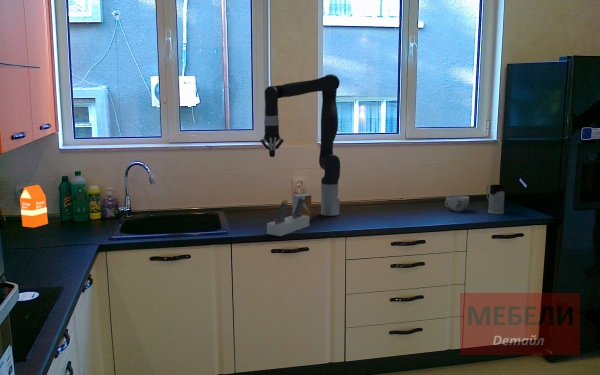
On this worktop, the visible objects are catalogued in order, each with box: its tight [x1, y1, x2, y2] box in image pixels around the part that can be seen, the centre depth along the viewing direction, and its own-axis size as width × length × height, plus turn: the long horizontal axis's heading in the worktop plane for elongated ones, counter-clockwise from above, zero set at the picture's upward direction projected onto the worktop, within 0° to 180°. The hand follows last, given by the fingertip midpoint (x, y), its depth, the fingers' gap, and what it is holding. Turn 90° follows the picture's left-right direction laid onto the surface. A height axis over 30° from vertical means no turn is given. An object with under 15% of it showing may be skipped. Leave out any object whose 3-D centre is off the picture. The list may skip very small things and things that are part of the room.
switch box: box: [266, 212, 310, 237], centre depth 253 cm, size 8×24×7 cm, turn 145°
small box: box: [291, 193, 312, 221], centre depth 274 cm, size 8×6×13 cm
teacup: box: [444, 194, 471, 212], centre depth 294 cm, size 15×12×8 cm
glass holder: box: [485, 184, 506, 215], centre depth 292 cm, size 9×14×15 cm, turn 14°
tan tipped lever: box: [276, 199, 289, 222], centre depth 245 cm, size 3×4×12 cm
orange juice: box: [19, 184, 49, 228], centre depth 263 cm, size 8×9×20 cm
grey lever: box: [294, 195, 305, 217], centre depth 256 cm, size 3×4×12 cm
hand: (272, 157), depth 279 cm, fingers closed
